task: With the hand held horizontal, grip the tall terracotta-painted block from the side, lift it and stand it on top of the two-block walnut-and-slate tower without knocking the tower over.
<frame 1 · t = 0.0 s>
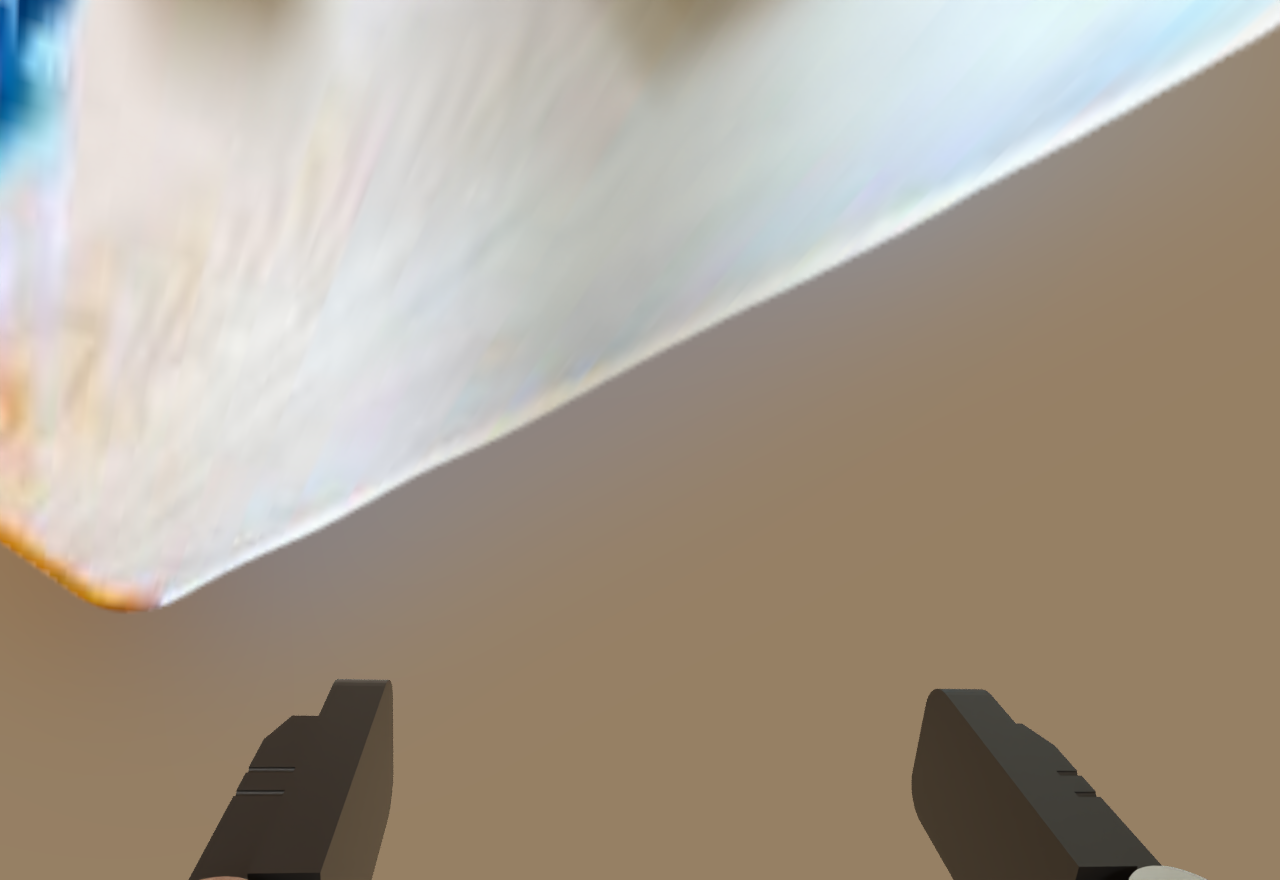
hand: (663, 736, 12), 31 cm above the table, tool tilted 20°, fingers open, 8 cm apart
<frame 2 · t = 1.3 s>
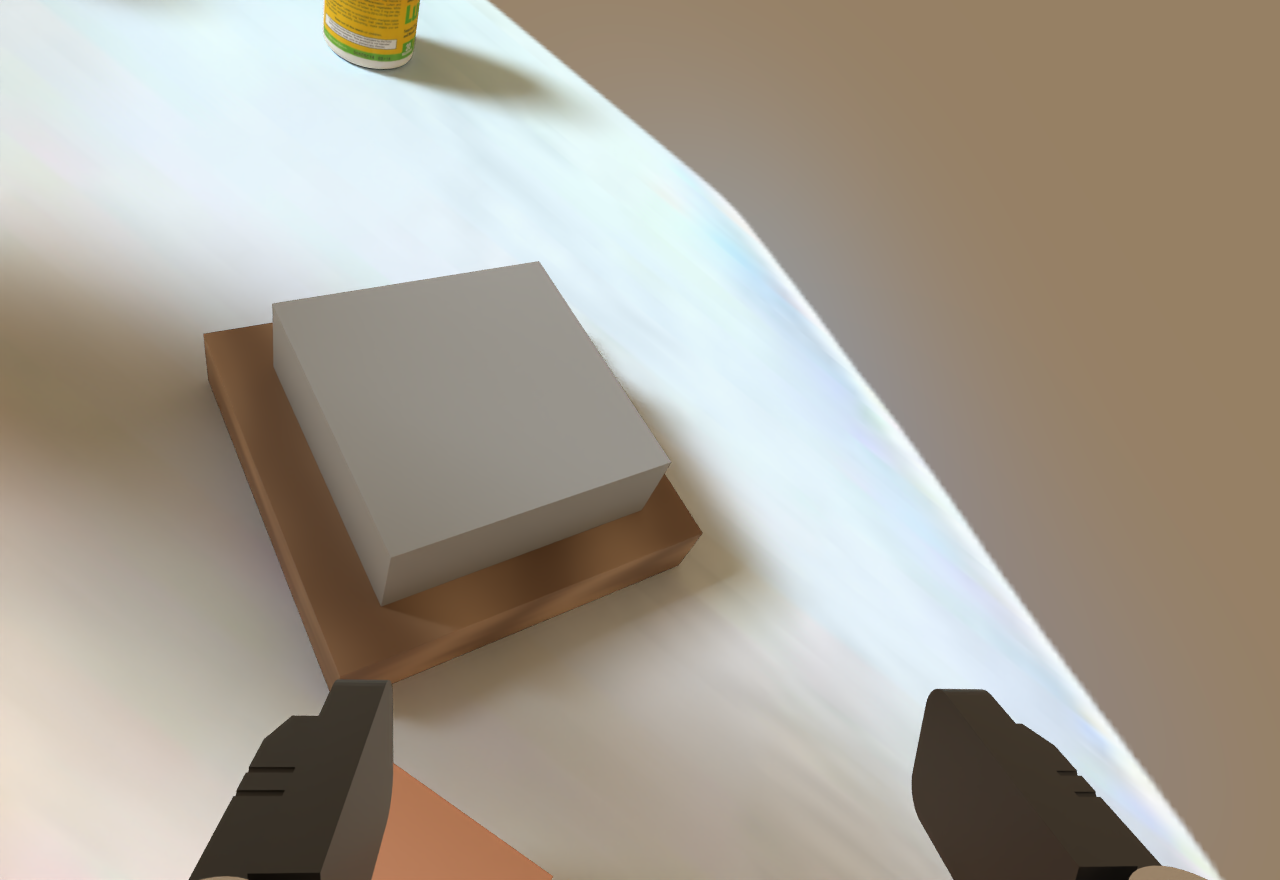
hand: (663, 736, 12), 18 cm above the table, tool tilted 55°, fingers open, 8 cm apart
slate top block: (462, 440, 33), point 3 cm above the table, touching walnut base block
supplement bottle: (368, 49, 52), on the table
walnut base block: (448, 484, 36), on the table, touching slate top block
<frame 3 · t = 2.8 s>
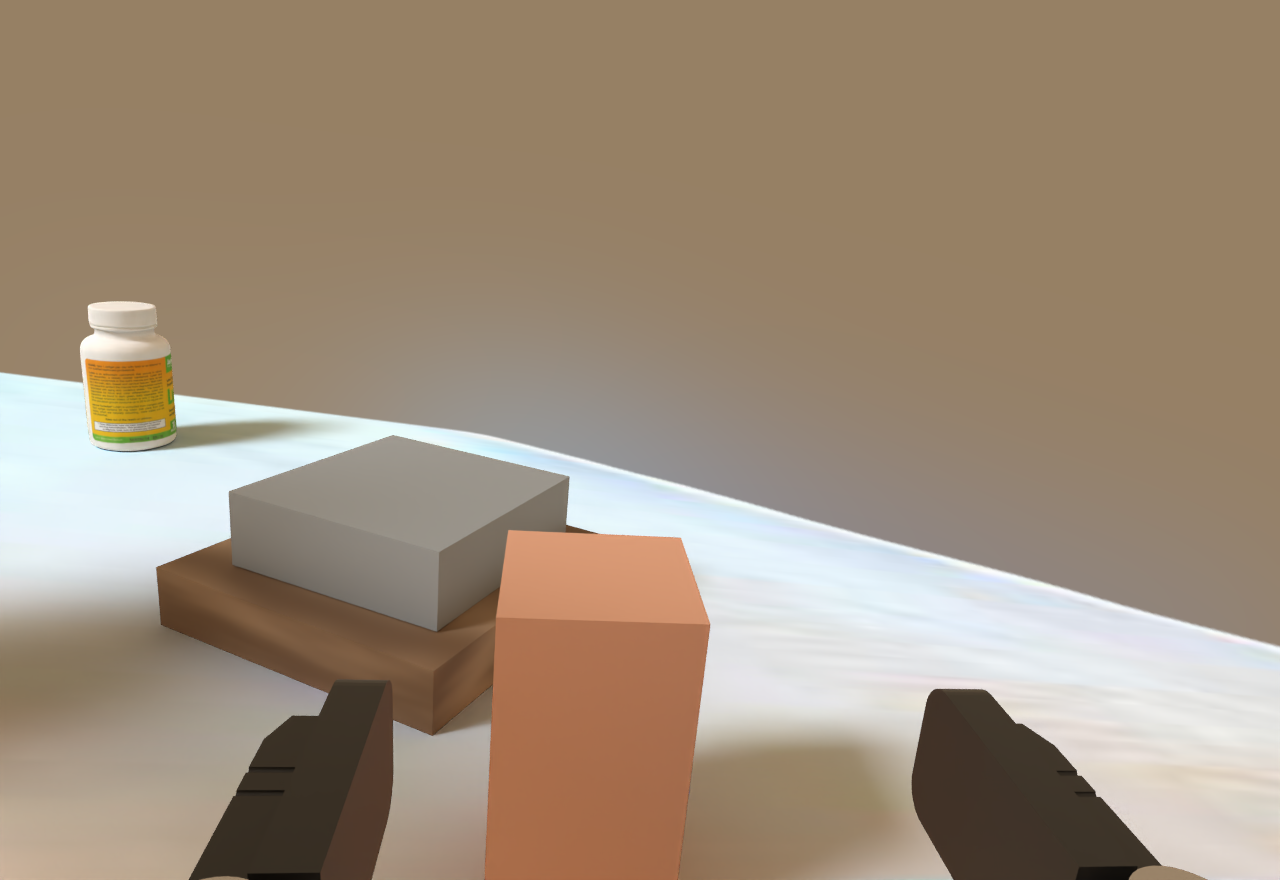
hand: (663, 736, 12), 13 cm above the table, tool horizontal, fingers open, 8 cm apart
terracotta block: (576, 854, 27), on the table
slate top block: (410, 551, 40), point 3 cm above the table, touching walnut base block
supplement bottle: (134, 443, 60), on the table
walnut base block: (405, 615, 42), on the table, touching slate top block
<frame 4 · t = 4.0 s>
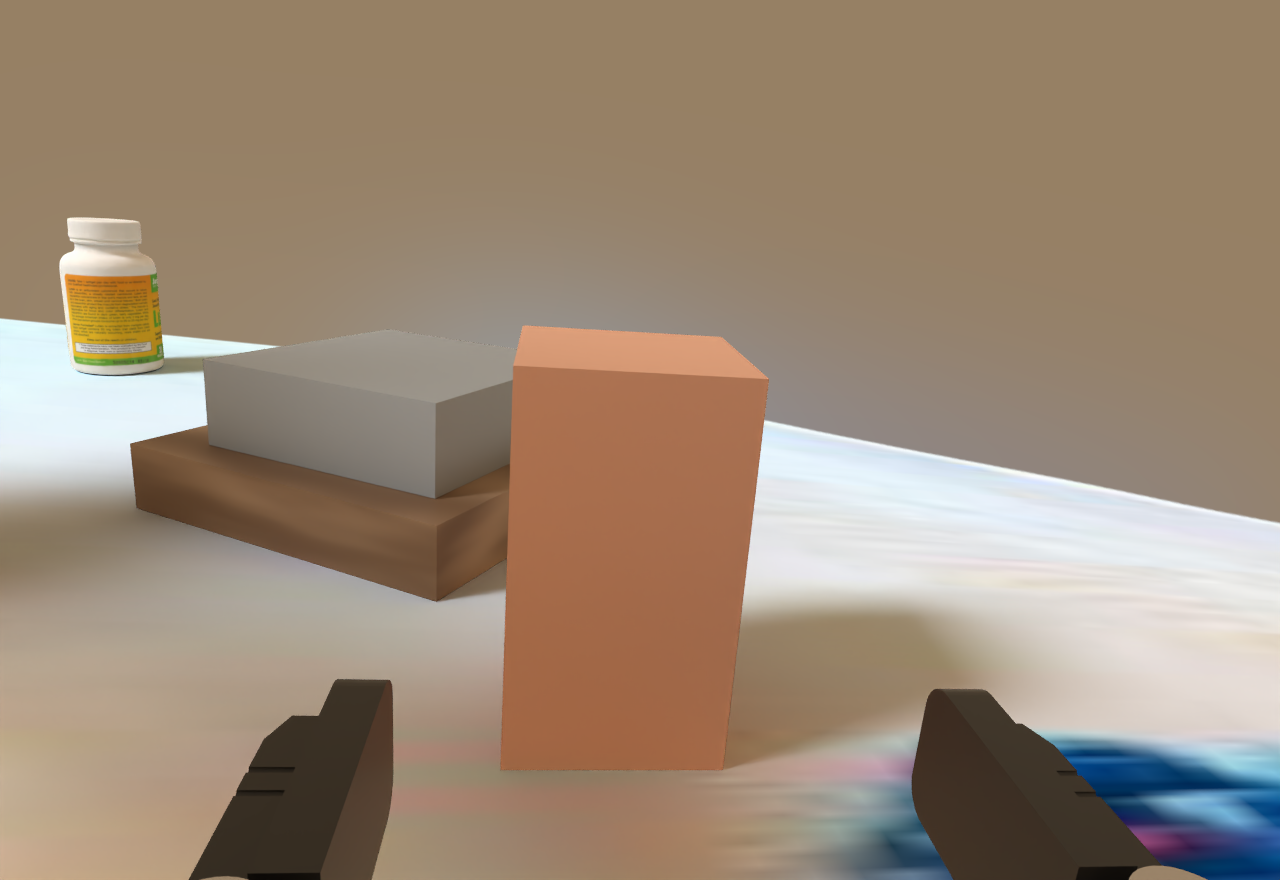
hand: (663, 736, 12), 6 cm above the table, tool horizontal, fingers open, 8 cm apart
terracotta block: (606, 704, 23), on the table
slate top block: (407, 437, 37), point 3 cm above the table, touching walnut base block
supplement bottle: (119, 370, 57), on the table
walnut base block: (406, 509, 38), on the table, touching slate top block
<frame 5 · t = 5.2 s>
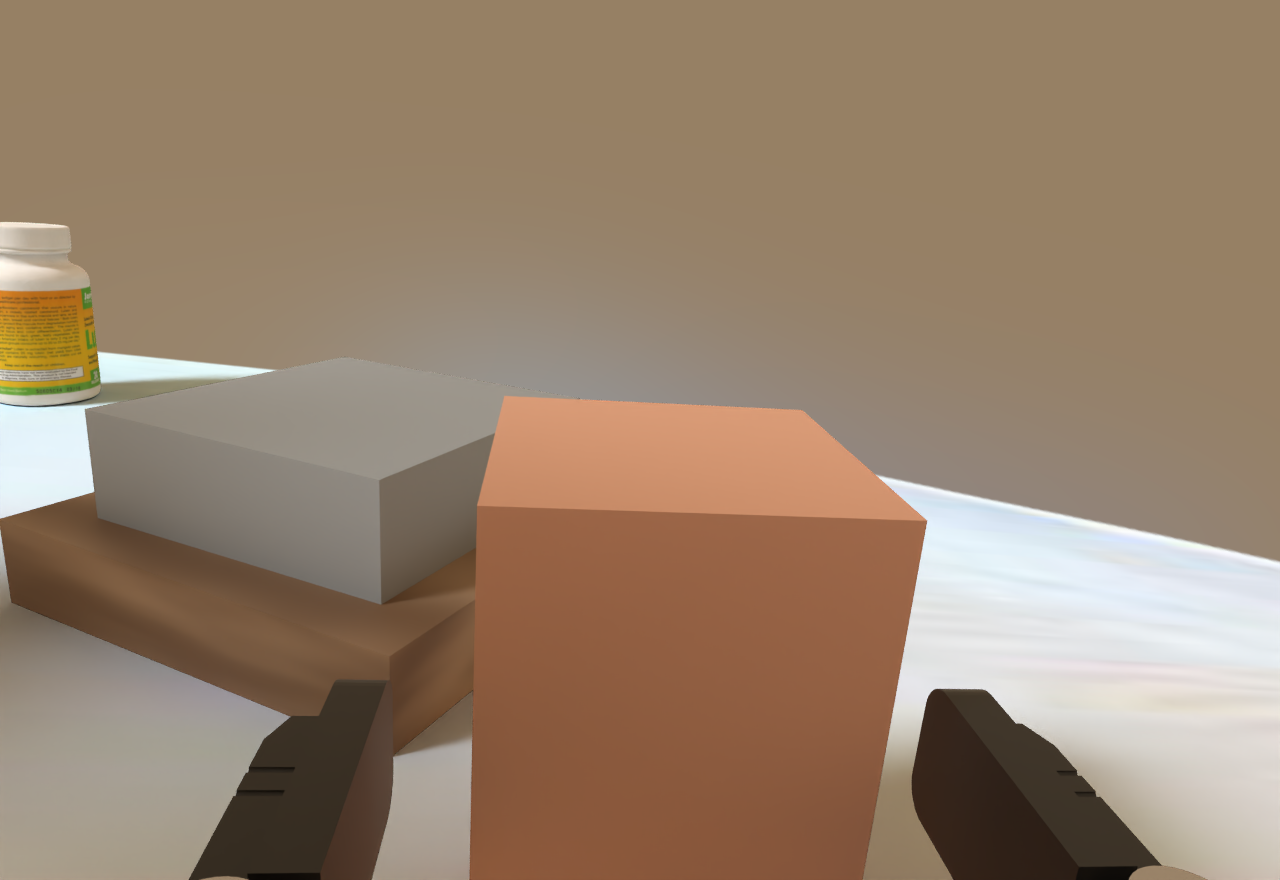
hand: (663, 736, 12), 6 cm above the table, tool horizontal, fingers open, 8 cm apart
slate top block: (360, 501, 29), point 3 cm above the table, touching walnut base block
supplement bottle: (47, 399, 49), on the table
walnut base block: (367, 590, 30), on the table, touching slate top block
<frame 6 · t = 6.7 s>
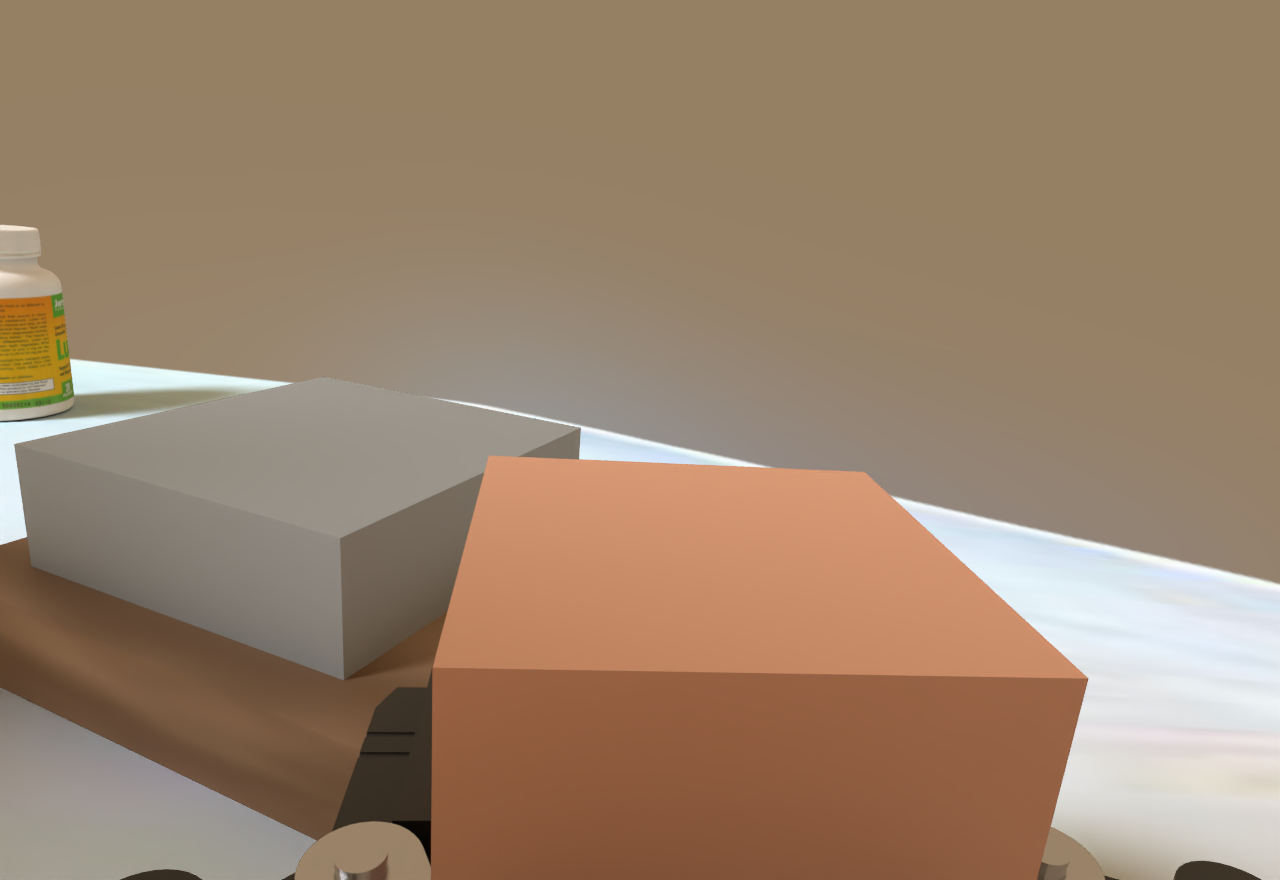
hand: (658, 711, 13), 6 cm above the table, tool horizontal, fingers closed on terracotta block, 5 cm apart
slate top block: (332, 543, 26), point 3 cm above the table, touching walnut base block
supplement bottle: (16, 413, 46), on the table
walnut base block: (347, 639, 27), on the table, touching slate top block
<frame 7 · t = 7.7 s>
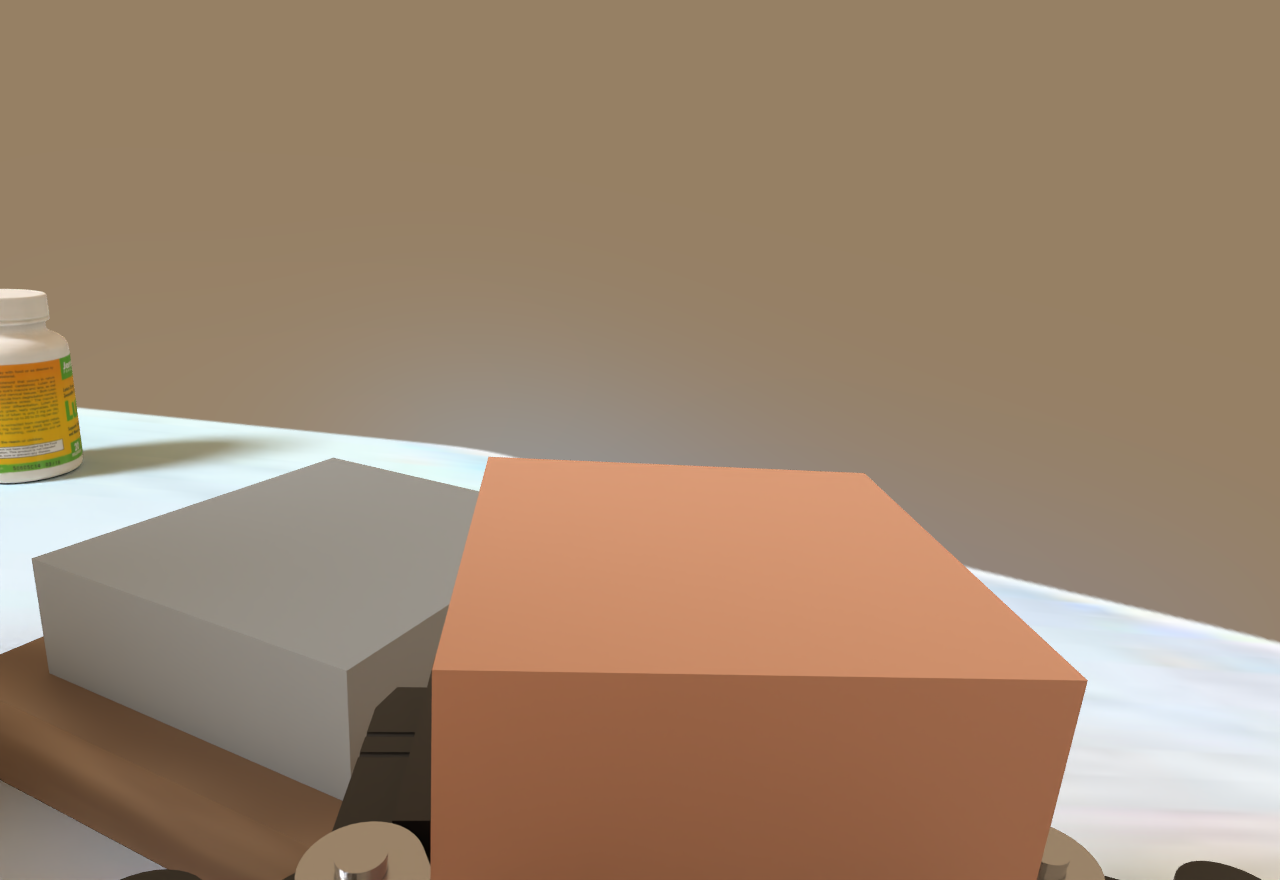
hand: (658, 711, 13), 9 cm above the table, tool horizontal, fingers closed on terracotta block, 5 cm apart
slate top block: (342, 638, 26), point 3 cm above the table
supplement bottle: (26, 472, 46), on the table
walnut base block: (357, 723, 28), on the table
when the fingers open (13 cm above the table, at t = 12.1 s): terracotta block stays where it is, point 6 cm above the table.
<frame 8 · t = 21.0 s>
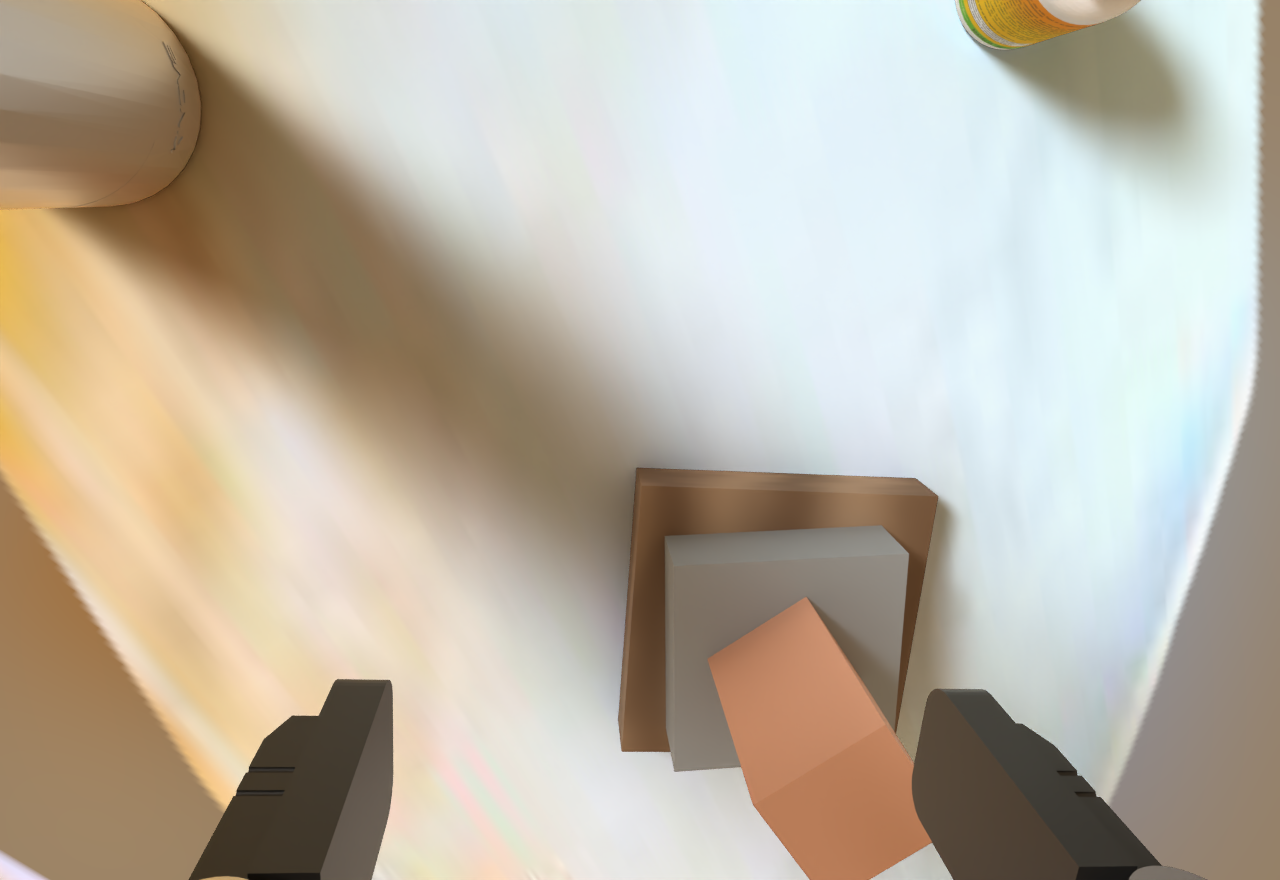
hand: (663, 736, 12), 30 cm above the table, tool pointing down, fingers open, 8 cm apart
terracotta block: (785, 669, 40), point 6 cm above the table
slate top block: (770, 629, 43), point 3 cm above the table, touching walnut base block
walnut base block: (759, 596, 47), on the table, touching slate top block
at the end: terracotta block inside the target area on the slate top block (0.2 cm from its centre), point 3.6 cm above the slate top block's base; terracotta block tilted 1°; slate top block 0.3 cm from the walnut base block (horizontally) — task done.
